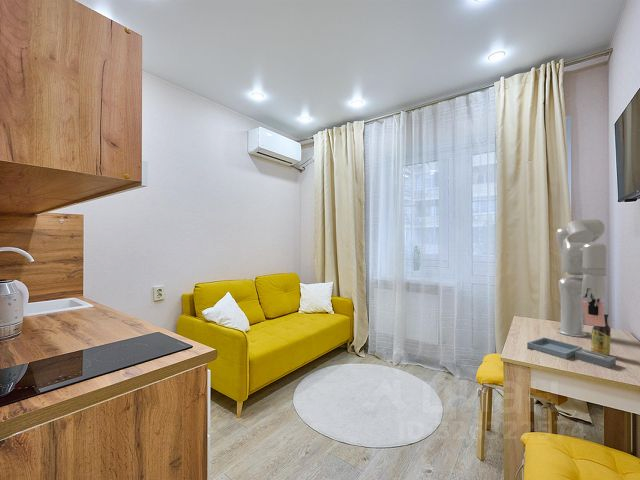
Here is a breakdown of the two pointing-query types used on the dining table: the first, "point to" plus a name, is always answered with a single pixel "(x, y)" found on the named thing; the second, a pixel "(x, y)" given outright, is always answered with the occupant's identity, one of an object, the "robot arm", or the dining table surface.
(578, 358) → the dispenser
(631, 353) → the dining table surface
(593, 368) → the dining table surface
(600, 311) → the ticket
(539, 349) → the tray
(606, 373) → the dining table surface
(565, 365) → the dining table surface
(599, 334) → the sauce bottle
